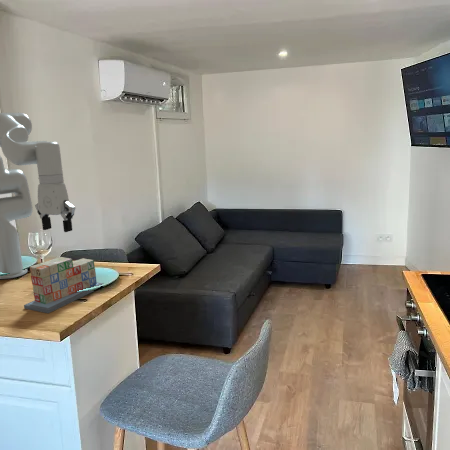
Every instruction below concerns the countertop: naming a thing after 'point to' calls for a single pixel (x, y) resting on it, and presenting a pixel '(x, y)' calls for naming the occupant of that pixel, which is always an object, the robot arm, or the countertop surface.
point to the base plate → (57, 301)
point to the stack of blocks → (61, 278)
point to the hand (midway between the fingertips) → (57, 230)
